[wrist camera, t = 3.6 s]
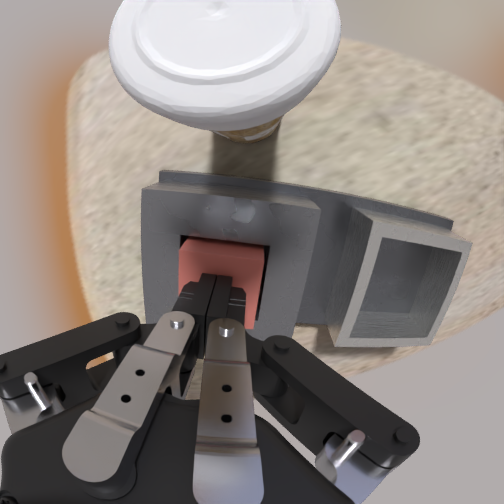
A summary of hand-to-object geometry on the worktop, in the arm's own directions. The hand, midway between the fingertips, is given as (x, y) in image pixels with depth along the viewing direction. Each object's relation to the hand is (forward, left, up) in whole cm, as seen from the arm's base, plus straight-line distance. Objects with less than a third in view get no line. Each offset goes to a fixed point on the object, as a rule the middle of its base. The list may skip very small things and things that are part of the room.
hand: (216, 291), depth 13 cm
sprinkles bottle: (0, -9, -6) cm, 11 cm away
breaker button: (0, 0, -5) cm, 5 cm away
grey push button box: (-6, 0, -6) cm, 9 cm away
